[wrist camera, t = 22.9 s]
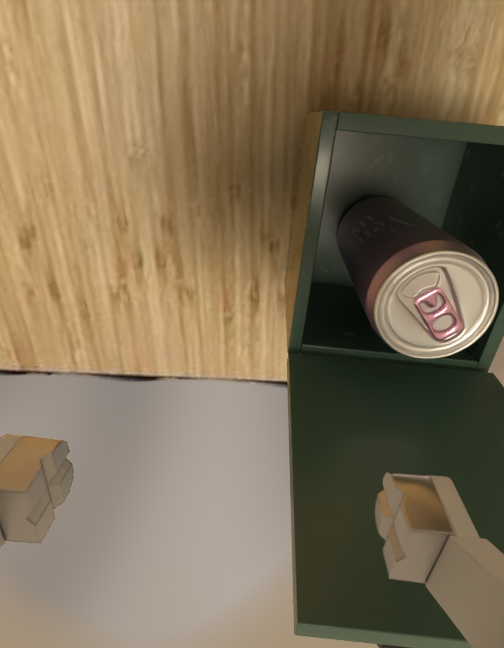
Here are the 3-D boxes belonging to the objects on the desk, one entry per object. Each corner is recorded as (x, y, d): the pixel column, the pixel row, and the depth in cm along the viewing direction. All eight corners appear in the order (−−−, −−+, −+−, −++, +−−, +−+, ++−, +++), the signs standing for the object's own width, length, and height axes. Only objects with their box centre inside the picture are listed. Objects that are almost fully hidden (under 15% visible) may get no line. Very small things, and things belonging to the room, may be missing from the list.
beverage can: (359, 281, 34) (405, 382, 20) (322, 224, 32) (346, 293, 18) (424, 242, 32) (524, 325, 18) (390, 178, 30) (472, 219, 16)
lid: (297, 623, 12) (279, 686, 14) (721, 669, 12) (630, 725, 14) (288, 352, 24) (279, 410, 27) (493, 372, 24) (465, 429, 26)
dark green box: (306, 113, 29) (323, 109, 18) (477, 128, 29) (591, 134, 18) (284, 284, 35) (287, 354, 25) (424, 298, 35) (487, 373, 25)
